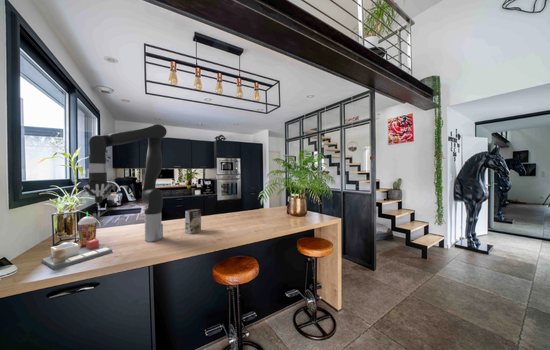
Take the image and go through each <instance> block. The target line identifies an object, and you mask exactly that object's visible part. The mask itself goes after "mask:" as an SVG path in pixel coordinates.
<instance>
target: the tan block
mask: <svg viewBox="0 0 550 350" xmlns="http://www.w3.org/2000/svg"><path fill="white" fill-rule="evenodd" d="M65 261H66V251H65V248H58V249H55V250H53V264H60V263H63V262H65Z"/></svg>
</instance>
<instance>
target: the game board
mask: <svg viewBox="0 0 550 350" xmlns="http://www.w3.org/2000/svg"><path fill="white" fill-rule="evenodd" d="M70 243H72V244H73V246H70V247H66V248H65V251H66V261H65V262H63V263H60V264H53V250H55V249H57V247H58V246H59V245H60V244H59V245H55V246H51V247H50V256H48V257H44V258H41V262H42V264H43V265H46V266H48V267H49V268H50V269H51V270H54V271H55V270H58V269H62V268H65V267H68V266H72V265H75V264H77V263H78V264H79V263H81V262H85V261H88V260H91V259H94V257H95V258H98V257H100V256H104V255H108V254H110V253H113V249H112V248H109V247H108V246H104V245H101V244H100V242H99V239H94V240H90V241H86V246H84V247H81V248H80V246H79V245H80V244H78V243H76V242H72V241H71V242H70ZM97 256H98V257H97Z"/></svg>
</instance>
